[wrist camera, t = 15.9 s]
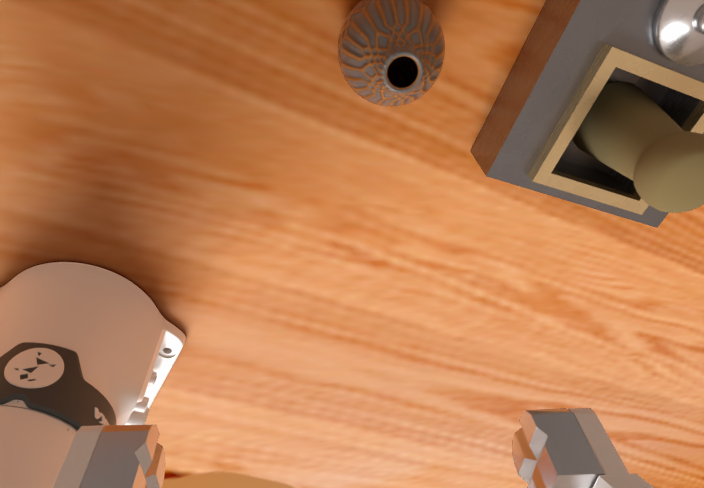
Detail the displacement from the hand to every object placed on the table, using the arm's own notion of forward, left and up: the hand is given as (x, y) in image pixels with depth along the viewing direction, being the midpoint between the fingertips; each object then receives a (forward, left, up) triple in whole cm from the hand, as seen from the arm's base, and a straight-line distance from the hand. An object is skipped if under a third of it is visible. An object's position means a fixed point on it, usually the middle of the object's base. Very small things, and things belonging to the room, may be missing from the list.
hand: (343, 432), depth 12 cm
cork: (+3, -23, -30) cm, 38 cm away
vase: (+3, -4, -31) cm, 32 cm away
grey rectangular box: (+6, -22, -31) cm, 39 cm away
